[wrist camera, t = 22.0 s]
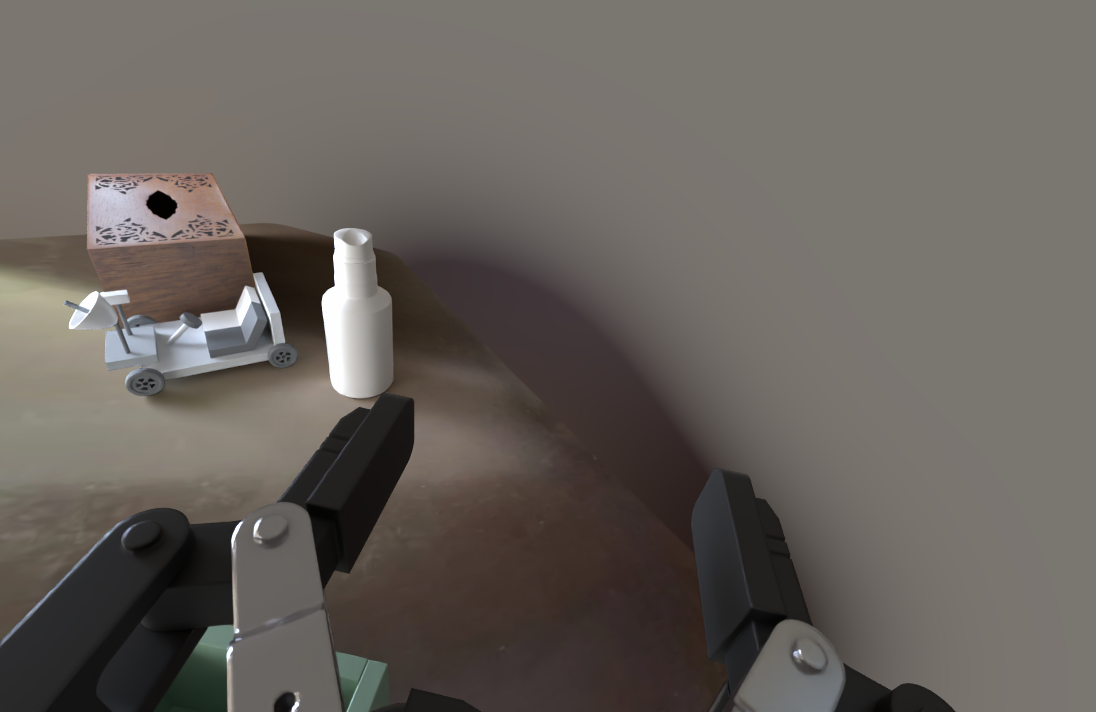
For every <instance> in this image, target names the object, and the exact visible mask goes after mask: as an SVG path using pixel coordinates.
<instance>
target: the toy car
mask: <svg viewBox="0 0 1096 712" xmlns="http://www.w3.org/2000/svg"><path fill="white" fill-rule="evenodd" d="M253 276H254V281H255V286H256V290H257V293H256V291H255V288H253V287H249V286H245V287H244V290H243V292H242V294H241V297H240V299H239V302H238V304H237V306H236V309H234V310H226V311H219V312H212V313H204V314H200V315H201V317H199V318H198V317H196V316H195V315H193V314H191V313H187V312H185V313H183V314H182V315H181V316H180V320H177V321H170V322H163V323H158V322H157V321H156V320H155V319H154V318H152V317H150V316H147V315H135V316H132V317H130V318H129V319H126V316H125V314H124V311H123V309H122V306H121V304H124V303H130V298H129V295H128V292H127V290H120V291H110V292H101V295H100V294H99V293H98V292H93V293H91V294H90V295H89V296H88V297H87V298H86V299H85V300H84V301H83V302H82V303H81V304H80V306H79V305H76V304H74V303H71V302H69V301H65V302H64V303H63V304H64V305H67V306H69V307H72V308H74V309H77V310H76V311H75V313H74V315H73V316H72V318H71V321H70V324H69V328H70V329H86V330H93V329H105V328H109V327H112V326H115V328H116V330H115V331H107V332H106V339H105V364H106V367H107V369H108V371H111V370H117V369H123V368H128V367H134V366H140V365H142V368H140V369H136V370H134V371H132V372H131V373H129V374H128V375H127V377H126V380H125V384H126V388H127V390H128V391H129V392H131V393H133V394H135V395H139V396H149V395H153V394H156V393H158V392H159V391H161V390H162V389H163V387H164V385H165V380H168V379H174V378H179V377H184V376H189V375H194V374H199V373H204V372H210V371H215V370H220V369H225V368H230V367H235V366H240V365H246V364H251V363H256V362H261V361H266V360H269V362H270V363H271V364H272V365H273V366H275V367H278V368H285V367H289V366H291V365H293V364H294V363H295V362H296V360H297V358H298V353H297V350H296V348H295V347H294V346H293V345H291V344H288V343H285V338H284V333H283V327H282V322H281V316H280V311H279V309H278V307H277V305H276V302H275V300H274V298H273V296H272V293H271V291H270V289H269V286H268V284H267V282H266V280H265V277H264V275H263V273H253ZM257 295H258V296H257ZM111 305H116V307H117V309H118V312H119V314H120V317H121V319H122V322H123V324H124V329H121V327H120V325H119V322H118V317H117V314H116V312H115V310H114V309H113V307H112V306H111ZM145 324H146V325H145ZM137 383H138V384H137ZM151 384H152V385H151Z"/></svg>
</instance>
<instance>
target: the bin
mask: <svg viewBox="0 0 1096 712" xmlns="http://www.w3.org/2000/svg"><path fill="white" fill-rule="evenodd" d="M233 637H234V627H233V626H229V625H220V626H212V627H208V629H207V631H206V632H205V634H204V635H203V637H202V638H201V640H200V641H199V643H198V644H197V646H196V647H195V649H194V650H193V652H192V653H191V655H190V657H189V658H188V660H187V661H186V663H185V664H184V666H183V667H182V669H181V670H180V672H179V673H178V675H177V676H176V678H175V679H174V681H173V683H172V684H171V686H170V687H169V689H168V690H167V692H166V693H165V695H164V696H163V698H162V699H161V701H160V702H159V704H158V705H157V707H156V709H155V710H154V712H228V692H227V651H228V645H229V642H230V641H232V640H233ZM336 656H337V662H338V667H339V673H340V678H341V683H342V689H343V694H344V700H345V705H346V711H347V712H370V711H373V710H376V709H378V708H381V707H384V706H388V705H390V696H389V676H388V664H386V663H381V662H377V661H373V660H369V661H368V659H365V658H361V657H357V656H353V655H349V654H345V653H341V652H337V651H336Z"/></svg>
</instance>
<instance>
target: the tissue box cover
mask: <svg viewBox="0 0 1096 712" xmlns="http://www.w3.org/2000/svg"><path fill="white" fill-rule="evenodd" d="M87 210H88V211H87V251H88V253H89V255H90V258H91V260H92V263H93V265H94V268H95V270H96V272H97V275H98V277H99V280H100V282H101V285H102V287H103V290H104V292H110V291H120V290H127V292H128V295H129V298H130V303H124V304H121V306H122V309H123V311H124V314H125V316H126V319H129V318H130V317H132V316H135V315H147V316H150V317H152V318H154V319H155V320H156V321H157V322H158V323H163V322H170V321H177V320H180V316H181V315H182V314H183V313H185V312H187V313H191V314H193V315H195V316H196V317H201V315H200V314H204V313H212V312H219V311H226V310H234V309H236V306H237V304H238V302H239V299H240V297H241V294H242V292H243V290H244V287H245V286H249V287H253V288H255V283H254V278H253V273H252V268H251V263H250V258H249V253H248V248H247V244H246V239H245V236H244V234H243V232H242V230H241V228H240V226H239V224H238V223H237V221H236V219H235V217H234V215H233V213H232V211H231V209H230V207H229V205H228V203H227V201H226V199H225V197H224V195H223V193H222V191H221V189H220V187H219V185H218V183H217V181H216V179H215V177H214V175H213V174H212V173H209V174H208V173H207V174H88V208H87ZM255 291H256V288H255ZM111 306H112V307H113V309H114V310H115V312H116V314H117V317H118V322H119V325H120V327H121V329H124V324H123V322H122V319H121V317H120V314H119V312H118V309H117V307H116V305H111ZM145 325H146V324H145Z"/></svg>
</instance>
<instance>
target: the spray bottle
mask: <svg viewBox="0 0 1096 712" xmlns="http://www.w3.org/2000/svg"><path fill="white" fill-rule="evenodd" d="M334 242H335V253H334V255H333V259H334V269H335V275H334V279H335V286H334V287H332V288H331V289H329V290H328V291H327V292H326V293H325V294H324V295H323V299H322V309H323V317H324V326H325V334H326V343H327V351H328V360H329V368H330V377H331V383H332V385H333V387H334V389H335V390H336V391H338V392H339V393H340V394H342V395H344V396H347V397H352V398H369V397H373V396H377V395H379V394H381V393H383V392H385V391H386V390H387V389H388V388H389V387H390V385H391V384H392V381H393V336H392V298H391V296H390V294H389V293H388V292H387V291H386V290H384V289H383V288H381V287H380V286H377V274H376V258H375V255H374V251H373V244H372V235H371V233H369V232H368V231H365V230H362V229H356V228H347V229H340V230H338V231H336V232H335V233H334Z"/></svg>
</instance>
